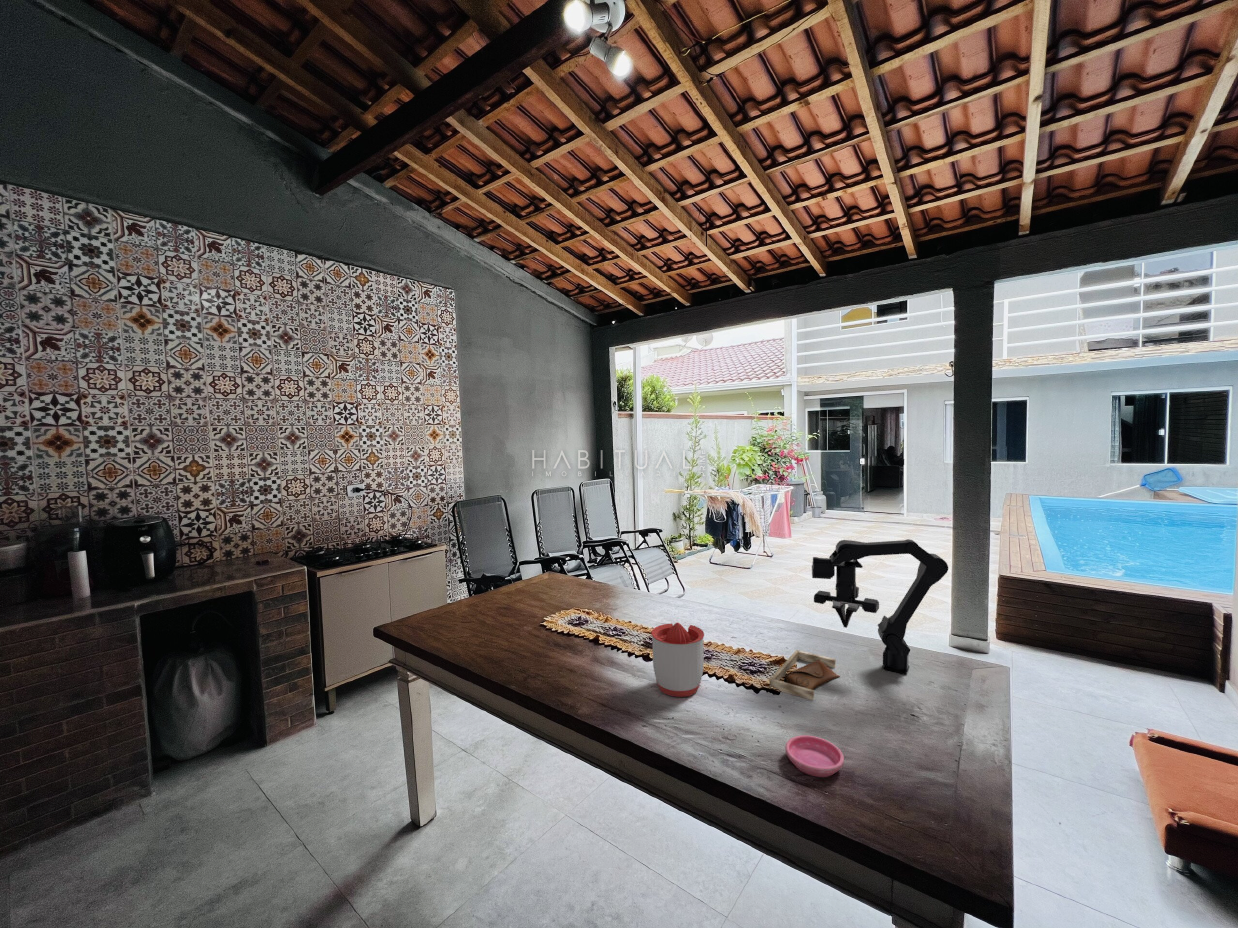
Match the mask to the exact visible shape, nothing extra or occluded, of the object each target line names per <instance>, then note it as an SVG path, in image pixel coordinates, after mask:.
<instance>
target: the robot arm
mask: <svg viewBox="0 0 1238 928" xmlns="http://www.w3.org/2000/svg"><path fill="white" fill-rule="evenodd" d="M889 555H890V556H892V555H894V556H895V555H911V556H912V557H913V558H914V559H916V560H917V561H918V562H919V565H918V566H917V567H918V568H917V573H916V576H915V577H916V578H915V579H914V580H913V582H912V584H911V586H910V587H909V588H908V590H907V592H906V594H905V595H904V596H903V598H902V600H901V601H900V603H899V604H898V607H897V608H896V610H894V612H893V614H891V615H890V616H888V617H887V616H886V615H883V616H882V618H881V621H880V622H879V623H878V624H877V626H878V628H877V633H878V636H879V638H880V639H881V641H882V644H883V645H884V646H885V648H884V650H883V652H882V665H883V670H885V671H890V672H894V673H898V674H903V675H908V672H909V670H910V665H909V654H910V651H911V649H910V647H909V646H908V644H907V642H906V640H905V635H906V631H907V627H908V626H907V625H908V623H909V622H910V620H911V619H912V617H913V615H914V614H915V612H916V611H917V609H918V607H919V606H920V604H921V603H922V601H923V599H924V598H925V596H926V594H928V592H929V590H930V589H931V587H932V586H933V585H936V583H938V582H940V581H941V580H942V579H943V578H944V576H946V574H947V573H948V572H949V565H948V563H947V562H946V560H944V559H943V558H942V557H940V556H939V555H938V554H935V553H929V552H928V551H927V550H926V549H924V548H922V547H921V546H920V545H919V544H918V543H917V542H916V541H914V540H913V539H910V538H909V539H904V540H902V539H901V540H888V541H886V540H885V541H870V542H869V541H868V542H864V541H858V540H850V539H841V540H839V541H837V543H836V544H835V549H834V551H833V552H832V553H831V554H830V556H829V557H828V558H826V557H817V556H813V557H812V564H811V577H812V579H821V580H831V579H833V577H835V574H836V577H835V579H836V580H835V581H836V583H835V588H834V589H835V591H836V592H835V595H831V592H830V591H825V590H818V591H817V592H816V593H815V594H814V596H813V602H814V603H815V604H819V605H820V604H821V605H824V604H826V602H832V605H831V608H832V609H834V610H835V612H836V614H837V615H838V617H839V619H840V621H841V623H842V627H843V628H848V626H849V623H850V620H851V618H852V617H853V616H852V615H853V614H854V613H857V611H858V610H859V609H860V607H861V609H862V611H864V612H865V613H871V614H876V613H878V611H879V609H880V601H879V600H878V599H875V598H868V597H865V598H864V599H863V600H860V599H858V598H859V594H860V592H859V591H860V587H858V586H857V582H856V581H857V580H856V579H857V578H856V575H857V573H856V572H857V571H856V570H857V569H862V568H863V565H862V563H861V562H859V561H858V560H861V559H863V558H866V557H872V556H889ZM835 568H836V569H835ZM835 572H836V573H835ZM846 605H847V607H846Z"/></svg>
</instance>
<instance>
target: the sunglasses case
mask: <svg viewBox="0 0 1238 928" xmlns="http://www.w3.org/2000/svg"><path fill="white" fill-rule="evenodd" d="M839 678H841V675H839V674H837V673H836V672H835V671H833V670H832V669H831V667H829V666H826V665H825V664H824V663H822V662H821V661H820V659H818V660H817V661H815V662H809V663H808V664H805V665H803V666H801V667H799V668H797V669H794V670H793V671H790V672H787V673H786V674H785V675H784V676H783V682H786V683H789V684H793V685H796V686H800V687H804V688H807V689H811V690H814V691H815V690H816V689H818V688H820V687H821V686H824V685H825V684H828V683H829V682H831V681H834V680H836V679H839Z"/></svg>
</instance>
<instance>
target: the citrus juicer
mask: <svg viewBox="0 0 1238 928" xmlns="http://www.w3.org/2000/svg"><path fill="white" fill-rule="evenodd" d="M651 636H652V666H653V672H654V676H655V681H656V684H657V687H658V689H659V690H660V691H661V692H662V693H663V694H665V695H668V696H672V697H678V698H684V697H690V696H692V695H694V694H696V693H697V692H698V690H699V687H700V685H701V682H702V677H703V673H704V661H705V660H704V655H705V654H704V638H705V632H704V630H702V629H701V627H699V626H696V625H692V624H690V625H689V627H688V628H687V629H686V628H685V627H684V626H683V625H682V624H681V623H680V622H674V624H673V623H665V624H661V625H658V626H656V627H654V628H653V629H652V630H651Z"/></svg>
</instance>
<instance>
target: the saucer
mask: <svg viewBox="0 0 1238 928" xmlns="http://www.w3.org/2000/svg"><path fill="white" fill-rule="evenodd" d="M784 748H785V753H786V756H787V758H788V759H789V761H791V763H792V764H793V765H794V766H795V767H796V768H797V769H798V770H799V771H801V772H802V773H804V774H807V775H809V776H812V777H816V778H825V777H826V778H827V777H830V776H832V775H834V774H835V773H837V772H839V771H840V770H841V769H842V767H843V766H844V763H845V756H844V754H843V752H842V751H841V749H840V748H839V747H838V746H837V745H835V744H834V743H832V742H830V741H829V740H827V739H825V738H822V737H819V736H815V735H806V734H805V735H803V734H802V735H797V736H794V737H791V738H789V739H788V740H787V742H786V744H785V747H784Z"/></svg>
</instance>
